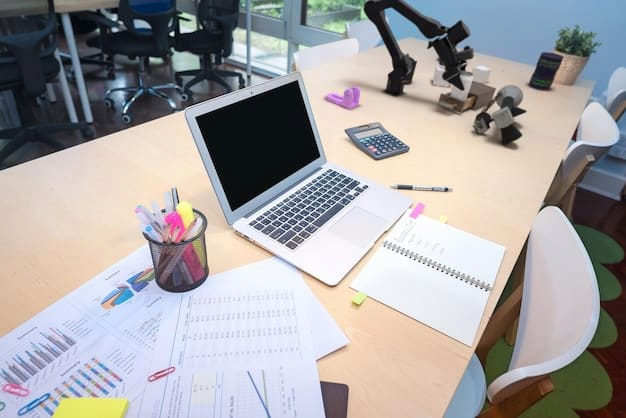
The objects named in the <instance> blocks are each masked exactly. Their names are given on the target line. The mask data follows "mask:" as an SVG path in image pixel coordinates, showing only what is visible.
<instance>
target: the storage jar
mask: <svg viewBox="0 0 626 418" xmlns="http://www.w3.org/2000/svg"><path fill="white" fill-rule="evenodd" d="M564 58H565V57H564V56H563V55H561V54H559V53H555V52H541V53H540V56H539V57H538V60H537V62H536V67H535V68H534V71H533V73H532V75H531V76H530V79H529V82H528V87H530V88H531V89H535V90H537V91H550V89H551V87H552V85H553V83H554V80H555V77H556V75H557V72H558V71H559V69H560V67H561V65H562V62H563V60H564Z"/></svg>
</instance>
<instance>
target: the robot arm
mask: <svg viewBox="0 0 626 418" xmlns="http://www.w3.org/2000/svg"><path fill="white" fill-rule="evenodd" d="M388 9H393V10H394V11H395V12H397V13H398V14H400V15H401V16H402V17H404V18H405V19H406V20H408V21H409V22H411V23H412V24H413V25H414V26H416V27H417V29H418V31H419V32H420V33H421V34H422V35H423V36H424V37H425V38H426V39H428V40H429V41H428V44H427V47H426V49H427V50H430V49H431V48H433V50H434V51H435V53H436V54H437V57H439V58H440V59H439V60H438V61H439V62H442V63H443V65H444V67H445V69H444V70H445V71H444V73H443V74H442V78H443V80H444V81H445V80H446V82H449V83H450V84H449V85H452V86H453V85H454V86H455V87H457V88H458V89H460V90H461V91H463V90H465V88H464V85H463V83H462V80H461V77H460V75H461V72H462V71H467V70H466V69H467V66H468V61H469V60H473V59H474V58H475V50H474V48H473V47H471V46H470V45H465V46H464V47H463V49H462V50H459V51H458V49H457V48H456V49H457V50H456V49H453V47H452V46H451V44H455V45H457V46H458V45H459V44H460V43H462V42H463V41H465V40H466V39H468V38H469V37H471V35H472V34H471V31H470V29H469V27H468V25H467V24H466V23H464V21H463V19H459V20H458V21H457V22H456V23H455V24H453V25H452V26H450V27H449V26H445V25H442V23H441V22H440V21H439V20H437V19H434V18H433V17H429V16H426V15H424V14H423V13H421V12H420V11H419V10H417V9H416V8H414V7H413V6H412V5H410V4H409V3H408V2H406V1H405V0H367V1H366V2H365V3H364V5H363V9H362V10H363V13H364V15H365V16H366V17H367V18H368V20H369V21H370V22H371V23H372V24H373V25H374V26H375V28H376V29H377V32H378V33H379V35H380V37H381V40H382V42H383V44H384V46H385V47H386V50H387V52H388V54H389V57H390V58H391V65H392V70H391V71H390V72H388V73H387V81H386V87H385V89H383V92H384V93H387V94H389V95H392V96H393V97H394V96H395V97H397V96H399V95H402V94H404V93H405V92H404V89H405V84H404V80H405V79H403V77H405V76H406V75H407V74H408V73H409V72H410V71H411V70H412V62H413V61H411V59H410V57H411V56H410V54H409V53H406V54H405V53H404V52H402V50H401V48H400V45H399V44H398V42H397V40H396V37H395V35H394V33H393V31H392V29H391V27H390V25H389V23H388V20H387V18H386V10H388ZM445 34H446V35H445ZM444 35H445V36H444ZM447 37H448V39H449V40H448V39H447ZM449 41H450V42H449ZM450 43H451V44H450Z"/></svg>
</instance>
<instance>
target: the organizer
mask: <svg viewBox="0 0 626 418" xmlns="http://www.w3.org/2000/svg"><path fill="white" fill-rule="evenodd" d="M496 90H497V88H496V87H494V86H490V85H488V84H485V83H478V82H475V81H472V84H471V87H470V90H469V93H468V94H470V95H473V96H476V100H475V102H474V105H473V106H471V107H469V108H468V109H470V110H473V111H475V110H477V109H479V108H482V107H484V106H487V105H488V104H489V103H490V102H491V100H492V99H494V96H495V93H496Z"/></svg>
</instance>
